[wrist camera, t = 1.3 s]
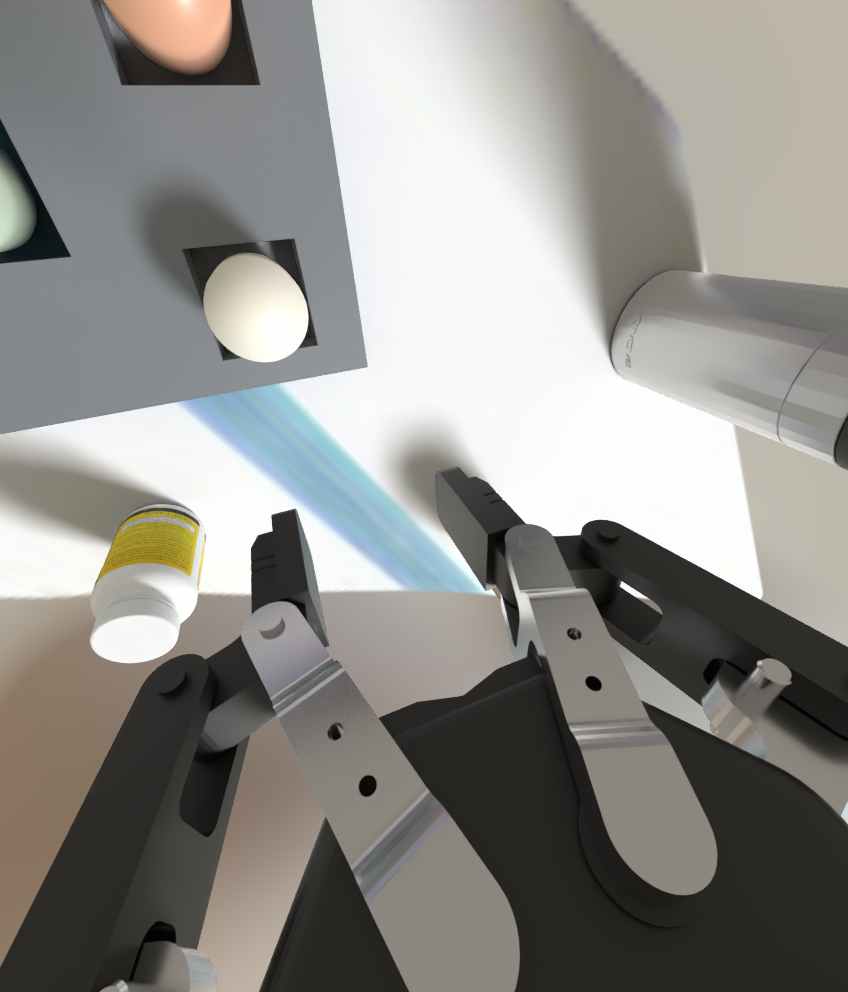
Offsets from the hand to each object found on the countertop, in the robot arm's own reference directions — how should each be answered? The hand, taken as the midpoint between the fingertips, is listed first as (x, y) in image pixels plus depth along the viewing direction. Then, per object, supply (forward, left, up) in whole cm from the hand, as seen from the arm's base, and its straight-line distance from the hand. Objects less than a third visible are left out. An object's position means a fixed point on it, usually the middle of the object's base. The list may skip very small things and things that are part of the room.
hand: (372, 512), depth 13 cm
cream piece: (+2, -5, -16) cm, 16 cm away
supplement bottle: (+13, +10, -18) cm, 24 cm away
